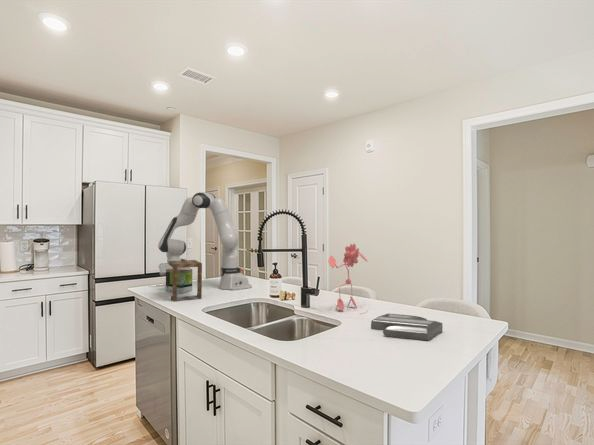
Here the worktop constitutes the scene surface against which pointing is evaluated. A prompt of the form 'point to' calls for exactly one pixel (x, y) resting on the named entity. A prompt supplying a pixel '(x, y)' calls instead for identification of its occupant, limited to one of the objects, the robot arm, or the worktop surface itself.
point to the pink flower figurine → (350, 258)
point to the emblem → (407, 326)
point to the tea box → (179, 280)
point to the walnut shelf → (176, 278)
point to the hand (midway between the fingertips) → (176, 278)
